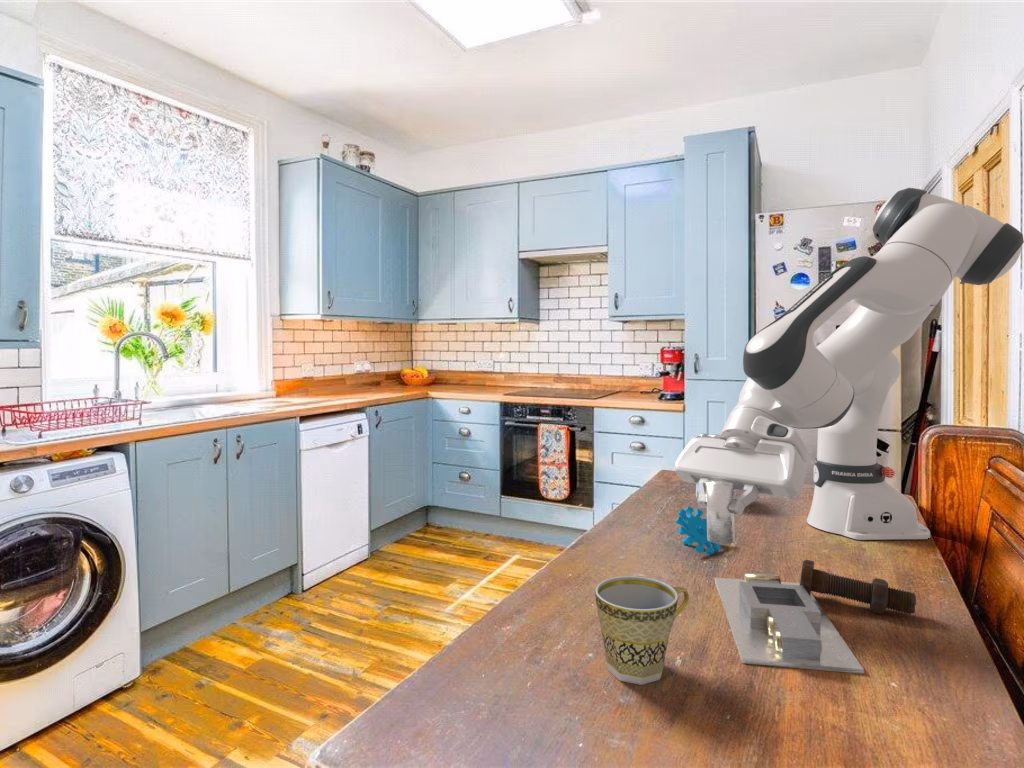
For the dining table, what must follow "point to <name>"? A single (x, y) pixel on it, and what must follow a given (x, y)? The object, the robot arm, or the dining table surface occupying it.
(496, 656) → the dining table surface
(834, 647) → the gray metal plate
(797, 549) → the dining table surface
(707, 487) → the silver upright cylinder
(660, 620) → the ceramic cup
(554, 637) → the dining table surface
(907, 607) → the bolt
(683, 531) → the gear
